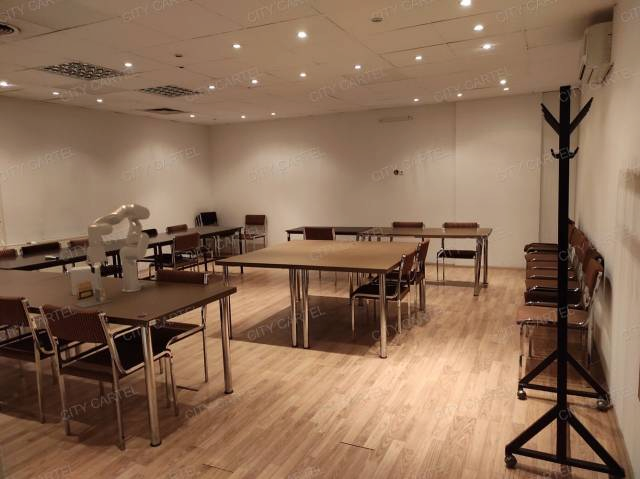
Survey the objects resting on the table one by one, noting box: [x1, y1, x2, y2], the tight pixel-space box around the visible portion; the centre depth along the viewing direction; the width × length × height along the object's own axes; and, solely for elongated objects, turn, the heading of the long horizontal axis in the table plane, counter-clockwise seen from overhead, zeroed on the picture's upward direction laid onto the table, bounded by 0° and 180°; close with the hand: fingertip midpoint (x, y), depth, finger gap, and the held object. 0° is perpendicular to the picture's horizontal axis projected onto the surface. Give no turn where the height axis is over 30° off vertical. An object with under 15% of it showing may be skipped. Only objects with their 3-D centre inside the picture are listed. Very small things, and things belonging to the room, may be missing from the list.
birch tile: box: [94, 287, 107, 302], centre depth 296 cm, size 3×7×8 cm, turn 50°
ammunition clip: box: [76, 280, 95, 301], centre depth 308 cm, size 11×2×12 cm, turn 153°
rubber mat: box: [73, 298, 113, 309], centre depth 293 cm, size 18×14×1 cm
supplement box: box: [69, 264, 103, 296], centre depth 324 cm, size 17×13×18 cm
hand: (98, 272), depth 294 cm, fingers open, 5 cm apart
